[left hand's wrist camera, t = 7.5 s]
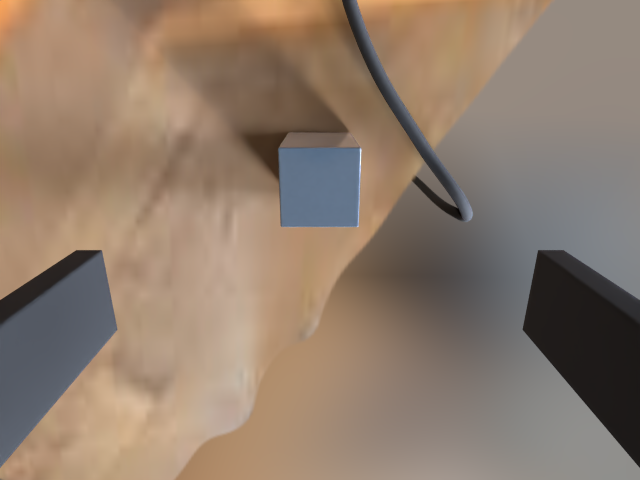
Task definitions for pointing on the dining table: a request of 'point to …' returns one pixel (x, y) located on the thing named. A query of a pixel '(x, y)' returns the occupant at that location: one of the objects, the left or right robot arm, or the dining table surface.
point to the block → (319, 179)
